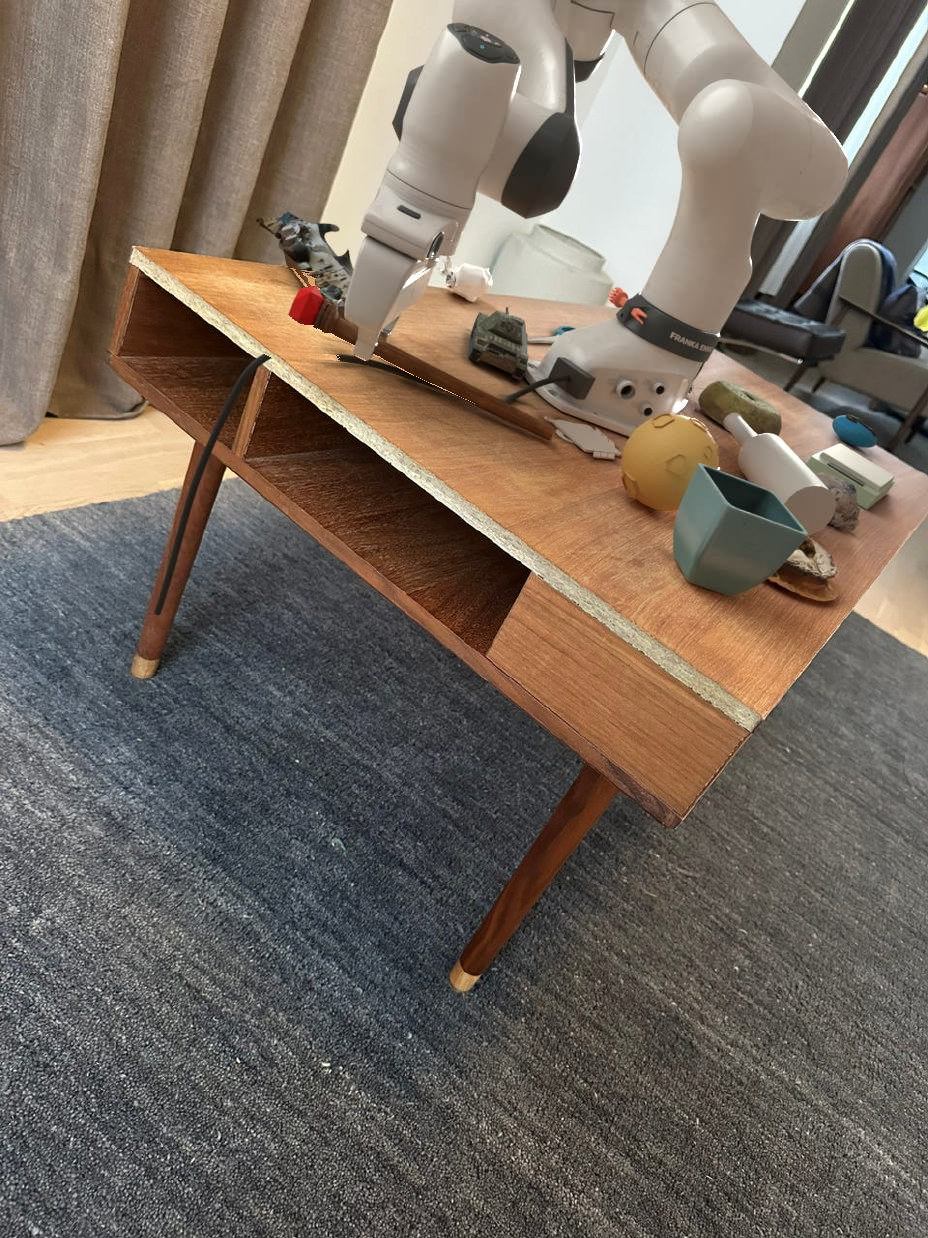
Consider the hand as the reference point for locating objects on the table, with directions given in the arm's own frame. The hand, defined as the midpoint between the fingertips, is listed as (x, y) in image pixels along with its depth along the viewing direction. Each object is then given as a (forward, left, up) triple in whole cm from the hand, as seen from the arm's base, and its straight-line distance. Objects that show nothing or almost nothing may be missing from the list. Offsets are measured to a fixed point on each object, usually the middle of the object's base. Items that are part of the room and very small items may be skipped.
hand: (369, 350), depth 94 cm
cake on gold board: (+38, -27, -4) cm, 46 cm away
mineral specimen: (+64, -6, -2) cm, 64 cm away
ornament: (+101, +32, +1) cm, 106 cm away
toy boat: (+3, +24, -6) cm, 25 cm away
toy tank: (+22, +17, -2) cm, 28 cm away
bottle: (+52, -15, +2) cm, 54 cm away
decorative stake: (+20, -8, -1) cm, 21 cm away
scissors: (+48, +39, -1) cm, 62 cm away
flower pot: (+27, -30, -2) cm, 41 cm away
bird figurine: (+20, +38, +1) cm, 43 cm away
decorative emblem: (+31, -6, -1) cm, 32 cm away
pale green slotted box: (+84, +10, -2) cm, 85 cm away
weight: (+67, +20, -2) cm, 70 cm away
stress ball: (+28, -17, -2) cm, 33 cm away
